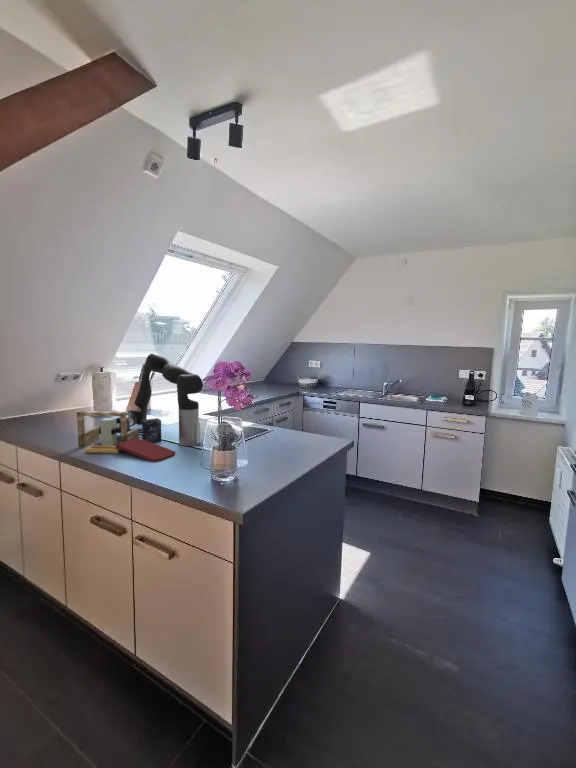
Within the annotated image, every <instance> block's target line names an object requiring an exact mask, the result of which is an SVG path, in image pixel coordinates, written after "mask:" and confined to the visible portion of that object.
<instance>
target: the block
mask: <svg viewBox="0 0 576 768" xmlns="http://www.w3.org/2000/svg"><path fill="white" fill-rule="evenodd" d="M116 418H117V417H116ZM116 418H115V417H105V418H103V419H100V421H99V423H100V425H99V427H100V428H101V434H100V444H101V445H100V446H115V445H116V444H118V433H115V434H111V430H112V429H114V428H116Z"/></svg>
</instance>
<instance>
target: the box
mask: <svg viewBox="0 0 576 768" xmlns="http://www.w3.org/2000/svg"><path fill="white" fill-rule="evenodd" d="M141 432H142V433H141V434H142V435H141V436H142V439H143V440H146V441H149V442H151V443H156V442H157V443H158V442H162V420H161V419H160V418H150V419H147V418H146V420H142V425H141Z"/></svg>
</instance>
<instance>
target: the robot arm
mask: <svg viewBox="0 0 576 768" xmlns="http://www.w3.org/2000/svg"><path fill="white" fill-rule="evenodd" d="M151 372H155V373H158V374H161V375H162V377H163V378H164V379H165V380H167V381H168V382H169V383H171V384H175V385H176V394H177V403H178V406H177V407H178V445H180V446H181V447H182V446H184V447H192V446H198V445H199V444H200V443H201V423H200V421H199V420H200V418H199V416H200V413H199V412H200V411H199V408H200V407H199V406H200V405H199V402H198V401H196V400H194V399H190V398H189V396H188V395H193V394H197V393H200V392H201V391H202V390H203V389H204V383H203V380H202V378H201V377H200V375H199V374H196V373H194V372H190V371H188V370H186V369H184V368H182V367H181V366H179V365H177V364H175V363H173V362H171V361H169V359H168V358H166V357H164V356H161V355H159V354H156V353H150V354H148V356H147V357H146V359H145V362H144V366H143V369H142V375H141V379H140V385H139V388H138V392H137V395H136V397H135V400H134V405H135V406H136V407H138V408H139V409H140V411H139V410H137V409H133V408H131V409H128V411H126V412H127V432H129V431H131V428H132V427H134V426H136V425H138V426H142V420H147V418H148V417H147V414H148V406H149V403H150V401H151V398H152V385H151V380H150V375H151ZM98 427H99V434H100V435H101V428H100V426H98ZM115 433H117V434H121V419H120V416H118V417H116V428H114V429H112V430H111V434H115Z"/></svg>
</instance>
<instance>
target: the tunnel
mask: <svg viewBox="0 0 576 768" xmlns="http://www.w3.org/2000/svg"><path fill="white" fill-rule="evenodd" d="M127 412H128V411H108V410H107V411H104V410H103V411H102V410H101V411H100V410H79V411H76V423H77V425H76V426H77V442H78V443H77V445H78V447H77V448H78V449H83V448H85V447H87V446H89V445H90V444H93V443H95V442H96V441H99V440H101V434H99V427H100V426H95V427H93V428H91V429H89V430H87V431H85V430H86V429H85V427H86V425H85V417H87V416H88V417H90V416H91V417H120V419H121V433H120V438H121V439H120V441H121V442H124V441H128V440H132V439H140V427H134V428H133V429H130V430H128V431H127ZM121 442H120V443H121Z"/></svg>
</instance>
